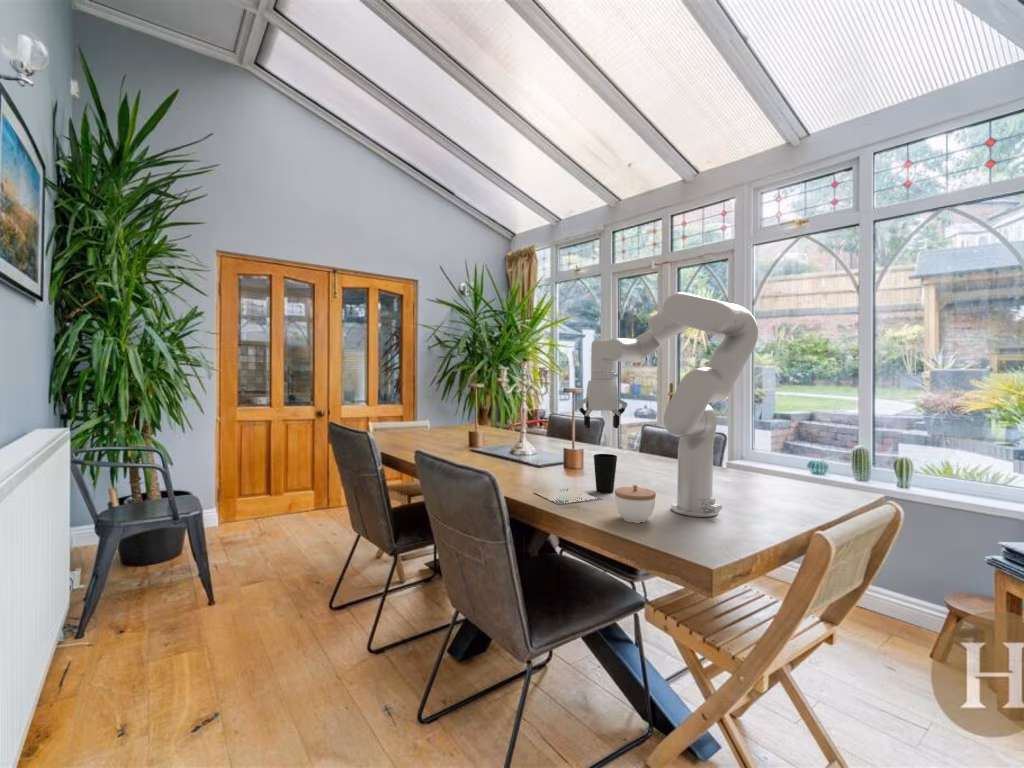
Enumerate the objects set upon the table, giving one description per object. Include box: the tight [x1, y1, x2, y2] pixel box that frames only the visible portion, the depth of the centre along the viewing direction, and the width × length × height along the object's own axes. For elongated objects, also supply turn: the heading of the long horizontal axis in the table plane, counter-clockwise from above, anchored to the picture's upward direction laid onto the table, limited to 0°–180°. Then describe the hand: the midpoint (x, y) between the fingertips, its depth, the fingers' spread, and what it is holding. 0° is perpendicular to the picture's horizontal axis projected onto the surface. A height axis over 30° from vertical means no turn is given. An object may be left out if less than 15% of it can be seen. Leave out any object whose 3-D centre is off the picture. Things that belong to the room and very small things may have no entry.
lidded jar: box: [614, 484, 657, 524], centre depth 136 cm, size 11×11×9 cm
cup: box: [593, 453, 618, 494], centre depth 167 cm, size 8×8×12 cm
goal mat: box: [553, 488, 602, 506], centre depth 160 cm, size 16×16×1 cm
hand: (601, 427), depth 168 cm, fingers open, 9 cm apart
